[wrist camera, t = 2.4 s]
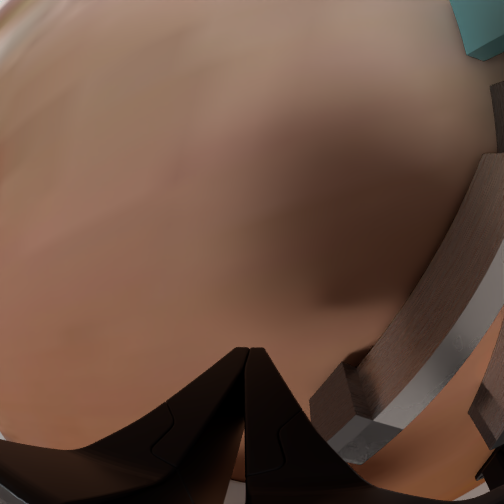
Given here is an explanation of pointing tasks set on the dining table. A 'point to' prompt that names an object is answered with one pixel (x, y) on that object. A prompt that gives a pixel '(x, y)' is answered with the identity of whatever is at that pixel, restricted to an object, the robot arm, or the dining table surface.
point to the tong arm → (423, 330)
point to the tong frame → (500, 367)
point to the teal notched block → (480, 26)
